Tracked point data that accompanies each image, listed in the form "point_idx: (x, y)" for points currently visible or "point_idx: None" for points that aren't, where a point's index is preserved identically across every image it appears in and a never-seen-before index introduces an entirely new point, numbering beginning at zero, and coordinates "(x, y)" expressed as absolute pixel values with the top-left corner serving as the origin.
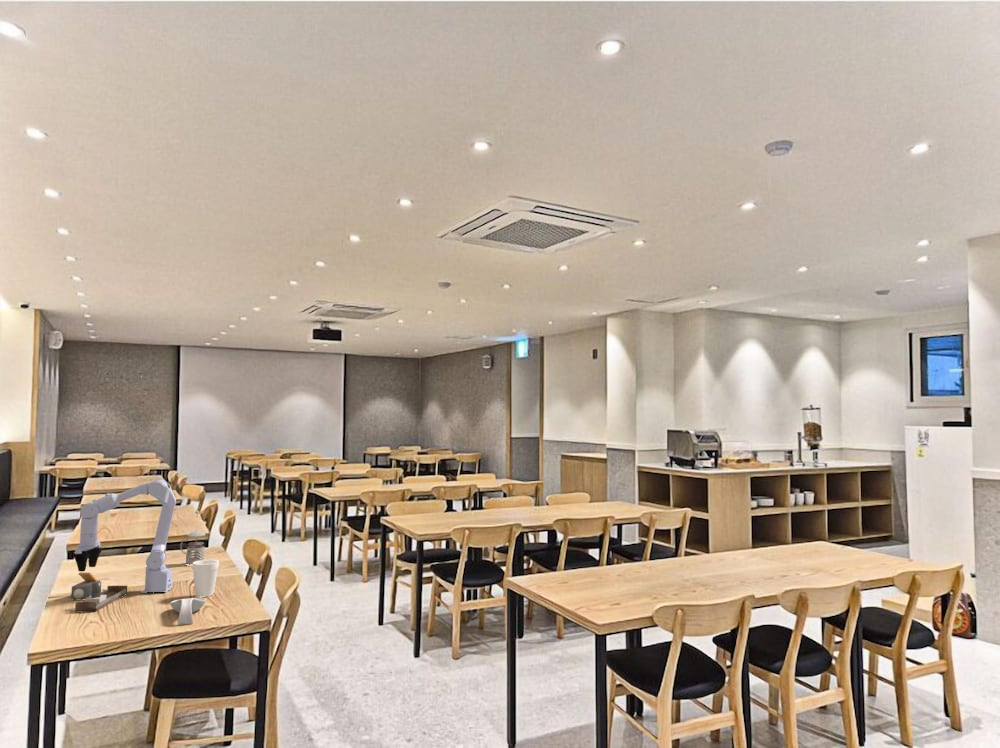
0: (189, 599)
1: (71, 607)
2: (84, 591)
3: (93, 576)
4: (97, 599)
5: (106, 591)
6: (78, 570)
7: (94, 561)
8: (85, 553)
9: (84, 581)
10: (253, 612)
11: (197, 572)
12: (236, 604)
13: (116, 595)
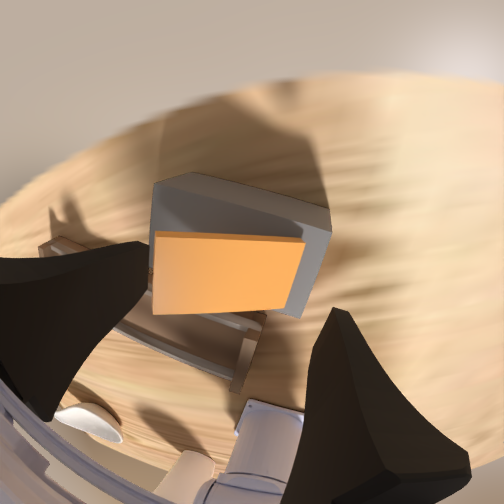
0: (56, 417)
1: (93, 210)
2: None
3: (225, 311)
4: None
5: (227, 322)
6: (130, 242)
7: (313, 386)
8: (16, 389)
9: (294, 230)
10: (114, 447)
11: (156, 488)
12: (145, 456)
13: (159, 349)
